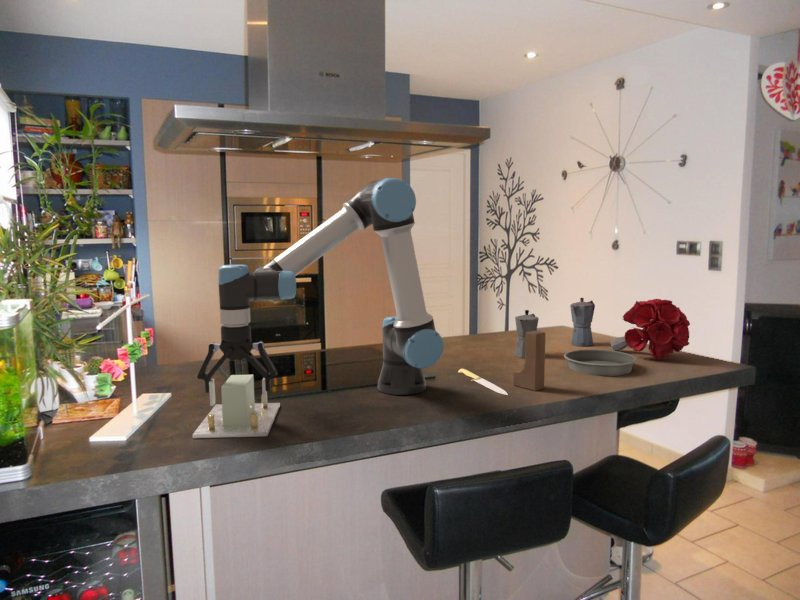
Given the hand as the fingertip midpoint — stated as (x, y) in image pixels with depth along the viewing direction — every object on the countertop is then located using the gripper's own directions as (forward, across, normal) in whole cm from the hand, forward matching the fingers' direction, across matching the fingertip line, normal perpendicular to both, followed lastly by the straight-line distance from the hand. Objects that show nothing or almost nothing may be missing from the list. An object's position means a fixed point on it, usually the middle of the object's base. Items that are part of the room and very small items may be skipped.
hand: (239, 403), depth 158 cm
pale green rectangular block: (+4, 0, 0) cm, 4 cm away
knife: (+5, -71, -32) cm, 78 cm away
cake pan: (+5, -117, -47) cm, 126 cm away
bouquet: (+5, -143, -62) cm, 156 cm away
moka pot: (+5, -126, -87) cm, 153 cm away
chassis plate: (+5, 0, 0) cm, 5 cm away
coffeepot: (+5, -97, -69) cm, 119 cm away
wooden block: (+5, -85, -25) cm, 89 cm away
